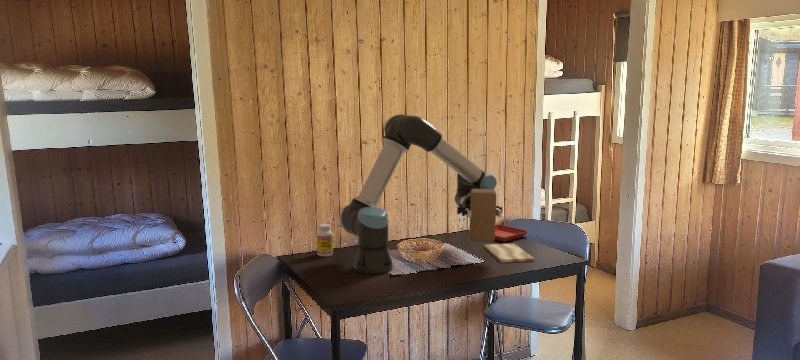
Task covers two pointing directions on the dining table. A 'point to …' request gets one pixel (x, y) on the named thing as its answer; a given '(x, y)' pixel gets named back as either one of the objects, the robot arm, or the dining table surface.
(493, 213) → the block
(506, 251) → the board
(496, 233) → the plant saucer
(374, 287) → the dining table surface
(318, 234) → the supplement bottle
